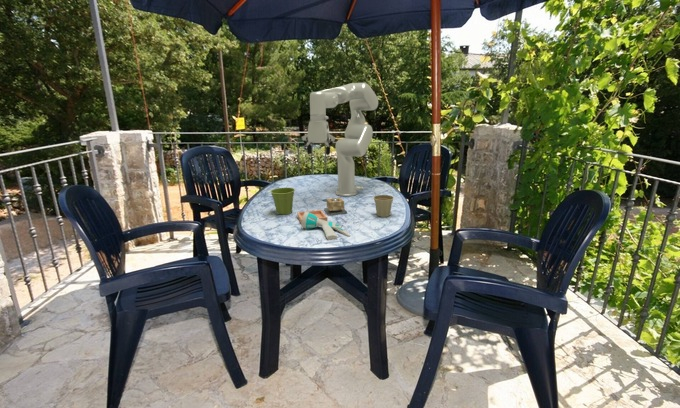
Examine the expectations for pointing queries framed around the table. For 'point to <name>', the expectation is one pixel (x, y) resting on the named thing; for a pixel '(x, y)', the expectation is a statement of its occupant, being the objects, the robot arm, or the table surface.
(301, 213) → the terracotta tray
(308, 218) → the garden hose nozzle
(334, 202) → the wooden ring
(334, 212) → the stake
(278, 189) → the plant pot
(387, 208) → the flower pot
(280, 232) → the table surface
